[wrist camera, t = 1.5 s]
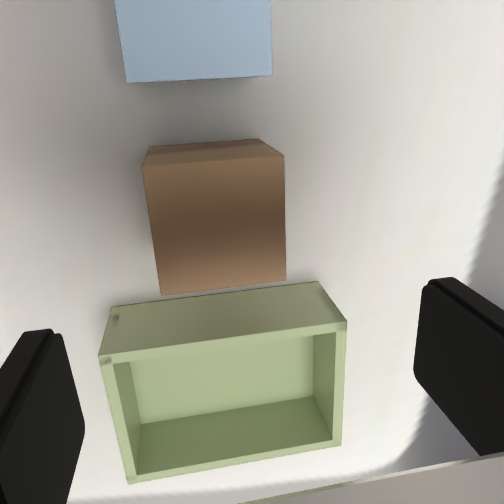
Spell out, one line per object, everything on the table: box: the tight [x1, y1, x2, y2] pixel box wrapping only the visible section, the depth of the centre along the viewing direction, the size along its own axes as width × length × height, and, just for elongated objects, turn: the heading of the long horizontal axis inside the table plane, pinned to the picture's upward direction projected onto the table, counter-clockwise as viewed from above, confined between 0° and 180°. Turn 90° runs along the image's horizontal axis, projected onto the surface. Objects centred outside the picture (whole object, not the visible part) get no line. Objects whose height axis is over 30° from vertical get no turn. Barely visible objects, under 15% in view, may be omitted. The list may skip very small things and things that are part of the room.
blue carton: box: [114, 0, 272, 83], centre depth 18 cm, size 6×6×5 cm
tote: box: [98, 281, 347, 485], centre depth 26 cm, size 9×13×5 cm
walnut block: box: [142, 139, 286, 296], centre depth 21 cm, size 6×6×6 cm
